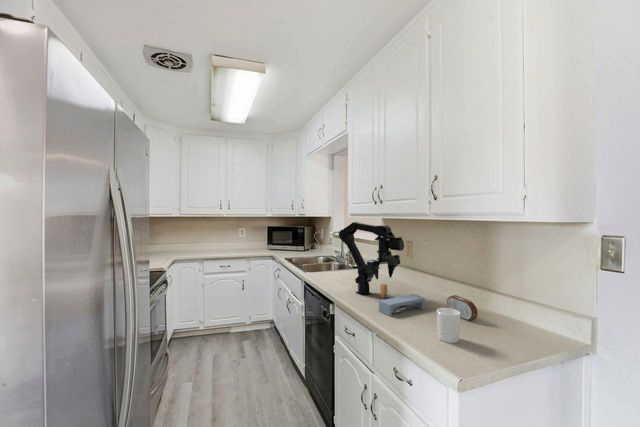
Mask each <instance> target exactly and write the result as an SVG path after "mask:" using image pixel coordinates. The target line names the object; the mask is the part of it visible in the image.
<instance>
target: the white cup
mask: <svg viewBox="0 0 640 427" xmlns="http://www.w3.org/2000/svg"><path fill="white" fill-rule="evenodd" d="M460 314H461V313H460V312H459V311H457V310H455V309H451V308H448V307H440V308H437V309H436V325H437V326H436V327H437V337H438V339H439V341H442V342H444V343H449V344H455V343H458V342H459V339H460V338H459V337H460V331H461V330H460V329H461V328H460V327H461V317H460Z"/></svg>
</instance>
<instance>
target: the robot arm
mask: <svg viewBox="0 0 640 427" xmlns="http://www.w3.org/2000/svg"><path fill="white" fill-rule="evenodd" d="M357 231H363V232H368V233H372V234H374V235H376V236H377V237H375V239H374V240H375V241H378V249H377V250H376V253H377V254H378V256H377V258H376V259H367V261H366V262H365V260H364V258H363V255H362V254H361V252H360V250H359V248H358V246H357V244H356V243H355V235H354V234H355V233H356V232H357ZM338 238H339V239H340V240H341V242H343V244H345V245H346V247H347V249H348V250H349V251H348V252H349V253H350V255H351V256H352V258H353V260H354V262H355V265H356V266H357V274H358V276H356V278H355V279H354V281H355V284H357V291H355V294H356V293H357V294H359V295H360V296H366V295H371V294H372V292H370V282H372V279H373V278H374V277H375V280H379V269H380V268H381V267H380V265H385V264H387V269H388V277H389V278H392V277H393V275H394V274H393V273H394V271H395V269H396V268H397V267H398V266H399V265H401V258H400V255H399V254H395V255H394V254H392V251H400V252H403V251H404V248H405V243H404V240H403V237H401V236H399V237H396V236H395V234H394V233H393V232H392V229H391V227H390V225H373V224H369V223H361V222H358V221H356V222H355V221H354V222H351V223H350V224H348V225H347V226H346V227H344V228H343V229H340V230H339V233H338Z"/></svg>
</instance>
